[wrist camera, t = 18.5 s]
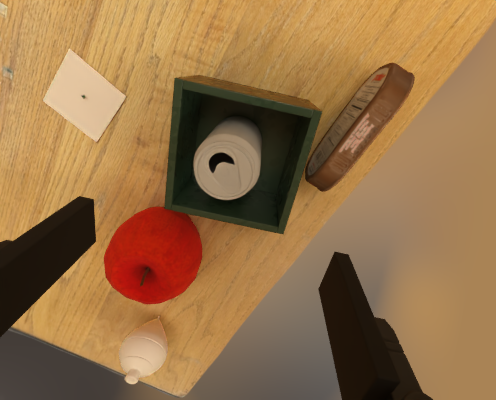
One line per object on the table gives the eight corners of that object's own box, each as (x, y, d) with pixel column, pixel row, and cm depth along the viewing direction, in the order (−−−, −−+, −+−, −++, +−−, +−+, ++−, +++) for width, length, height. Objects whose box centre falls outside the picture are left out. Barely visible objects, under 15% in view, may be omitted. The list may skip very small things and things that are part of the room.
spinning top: (136, 299, 50) (100, 362, 40) (177, 302, 50) (152, 367, 39) (142, 328, 54) (110, 393, 43) (180, 331, 53) (158, 398, 43)
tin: (316, 177, 38) (327, 205, 30) (297, 166, 37) (304, 191, 30) (395, 74, 32) (435, 76, 24) (373, 58, 31) (407, 55, 23)
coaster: (42, 100, 35) (37, 101, 35) (69, 48, 33) (64, 47, 32) (96, 142, 37) (93, 144, 37) (126, 96, 35) (123, 97, 34)
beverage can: (250, 106, 34) (241, 125, 23) (269, 153, 36) (270, 190, 25) (204, 127, 35) (176, 153, 24) (226, 170, 37) (209, 212, 27)
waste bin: (308, 100, 33) (322, 111, 25) (280, 197, 39) (283, 234, 31) (199, 74, 33) (174, 77, 24) (187, 177, 39) (164, 209, 30)
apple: (151, 258, 46) (110, 326, 34) (124, 196, 41) (64, 249, 29) (219, 249, 44) (201, 318, 32) (199, 183, 39) (169, 234, 27)
